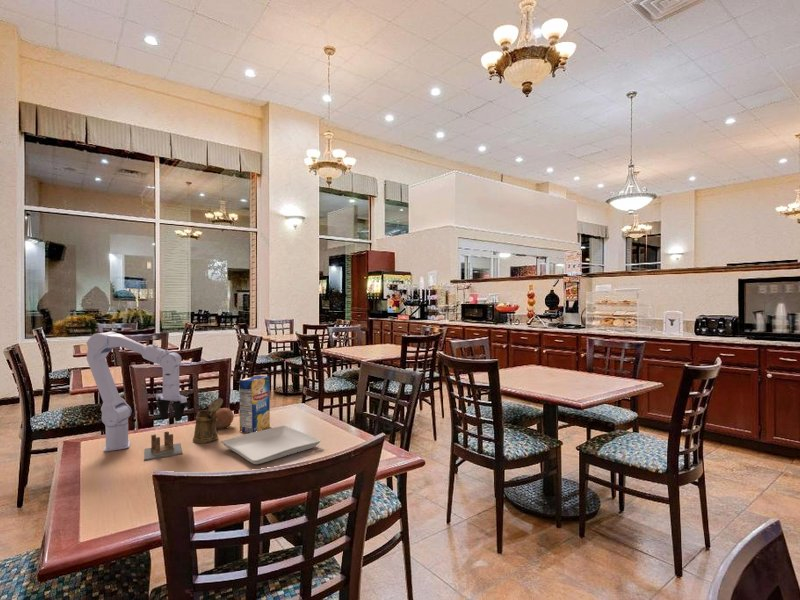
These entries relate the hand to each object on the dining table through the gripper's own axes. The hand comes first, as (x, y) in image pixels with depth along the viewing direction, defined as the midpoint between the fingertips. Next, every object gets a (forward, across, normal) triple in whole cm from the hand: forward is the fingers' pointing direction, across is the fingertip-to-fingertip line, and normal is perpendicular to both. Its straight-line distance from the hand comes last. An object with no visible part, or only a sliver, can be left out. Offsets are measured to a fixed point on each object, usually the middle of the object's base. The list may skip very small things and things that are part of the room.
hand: (171, 419), depth 165 cm
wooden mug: (+10, +9, +9) cm, 17 cm away
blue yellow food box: (+10, +15, +28) cm, 34 cm away
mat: (+10, +4, -6) cm, 12 cm away
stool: (+9, +4, -7) cm, 12 cm away
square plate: (+10, +38, +12) cm, 41 cm away
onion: (+10, +1, +24) cm, 26 cm away
